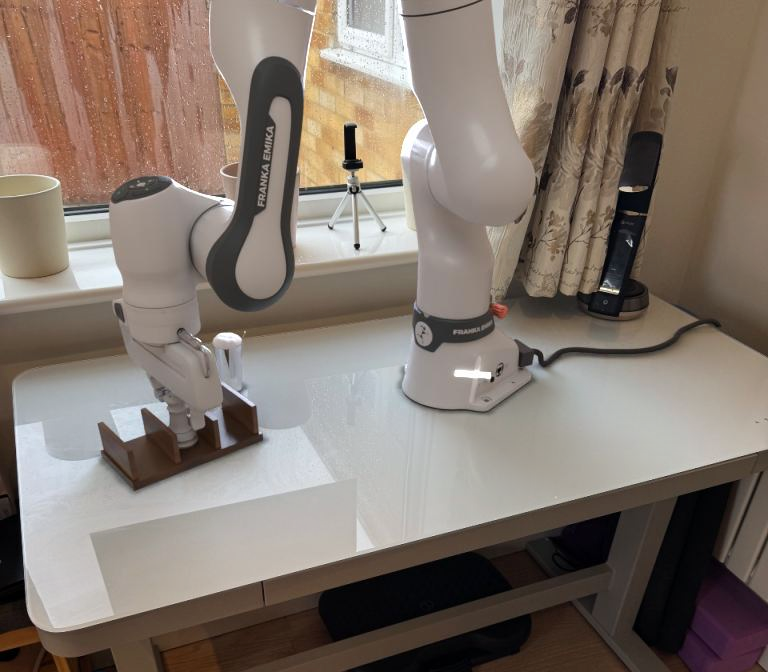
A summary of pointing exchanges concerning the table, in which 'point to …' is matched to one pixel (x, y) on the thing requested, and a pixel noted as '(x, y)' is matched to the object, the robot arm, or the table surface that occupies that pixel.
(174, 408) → the rook chess piece
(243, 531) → the table surface
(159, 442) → the plate rack
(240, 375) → the milkshake
